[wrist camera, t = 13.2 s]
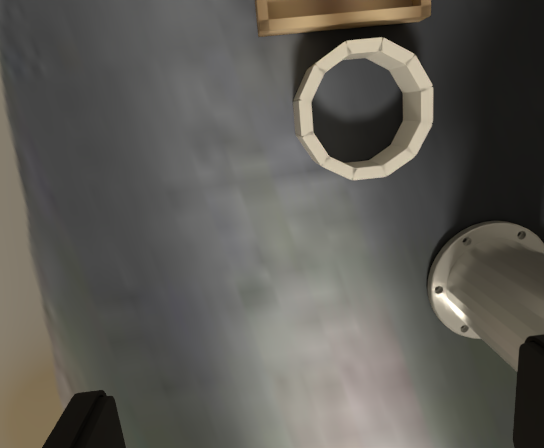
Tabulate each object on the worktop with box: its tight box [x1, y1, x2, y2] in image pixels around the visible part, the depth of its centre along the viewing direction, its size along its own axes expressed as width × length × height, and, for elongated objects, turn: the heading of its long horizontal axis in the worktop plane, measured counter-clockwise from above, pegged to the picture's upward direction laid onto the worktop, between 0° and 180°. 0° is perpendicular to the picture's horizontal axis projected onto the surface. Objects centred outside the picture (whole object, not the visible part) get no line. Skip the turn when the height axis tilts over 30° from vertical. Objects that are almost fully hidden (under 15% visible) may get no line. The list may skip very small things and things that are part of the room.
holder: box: [293, 37, 433, 180], centre depth 35 cm, size 11×11×4 cm
